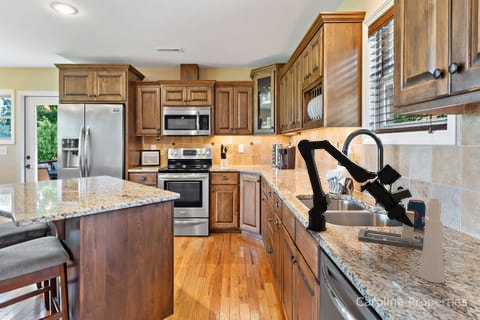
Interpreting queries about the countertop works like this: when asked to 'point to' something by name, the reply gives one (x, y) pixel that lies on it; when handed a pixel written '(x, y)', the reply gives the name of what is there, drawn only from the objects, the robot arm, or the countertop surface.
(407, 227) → the fader
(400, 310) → the countertop surface
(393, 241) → the grey slider track
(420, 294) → the countertop surface
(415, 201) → the soda can
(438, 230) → the cosmetic bottle
